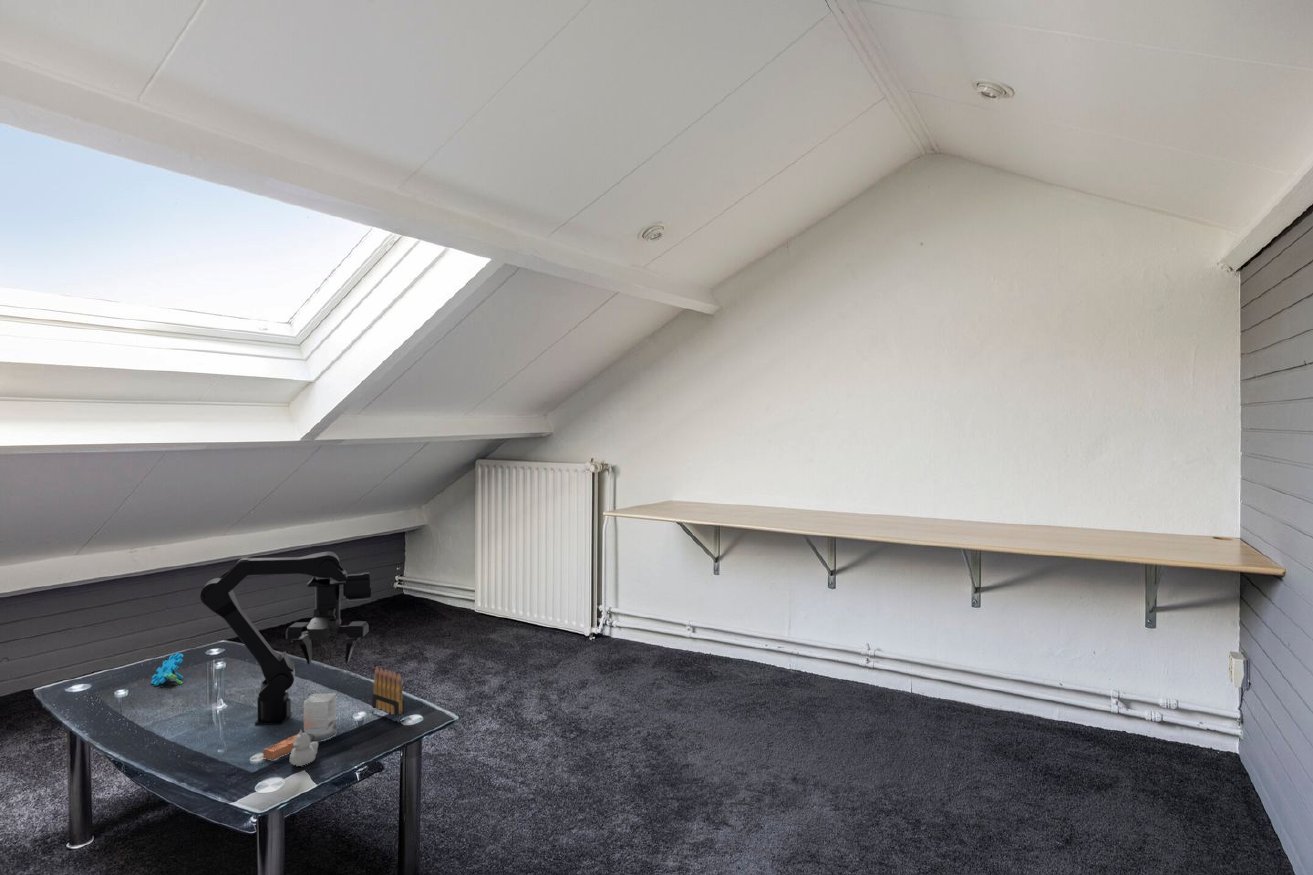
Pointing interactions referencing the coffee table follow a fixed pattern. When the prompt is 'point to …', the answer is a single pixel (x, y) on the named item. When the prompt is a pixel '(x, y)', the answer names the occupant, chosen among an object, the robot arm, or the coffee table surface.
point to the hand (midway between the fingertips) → (328, 663)
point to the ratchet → (287, 744)
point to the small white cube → (319, 710)
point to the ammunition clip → (387, 692)
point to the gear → (168, 670)
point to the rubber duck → (303, 750)
